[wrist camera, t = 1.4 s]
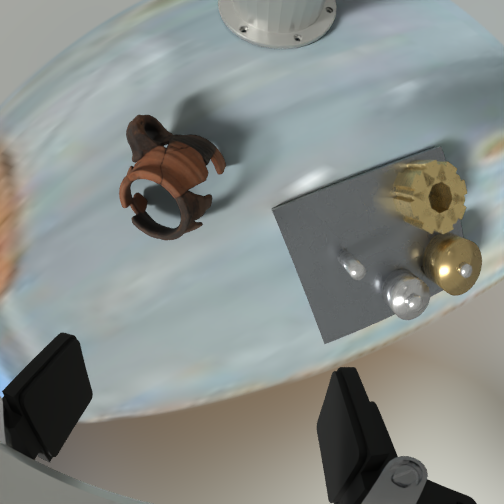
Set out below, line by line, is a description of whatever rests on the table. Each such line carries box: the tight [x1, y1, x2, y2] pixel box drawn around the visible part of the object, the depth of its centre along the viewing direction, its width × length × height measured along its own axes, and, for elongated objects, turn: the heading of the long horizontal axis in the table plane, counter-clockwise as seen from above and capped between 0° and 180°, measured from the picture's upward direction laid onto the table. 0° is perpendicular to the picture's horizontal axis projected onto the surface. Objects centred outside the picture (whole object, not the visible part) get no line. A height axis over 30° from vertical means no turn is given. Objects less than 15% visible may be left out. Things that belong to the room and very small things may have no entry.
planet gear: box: [393, 160, 467, 234], centre depth 26 cm, size 7×7×4 cm
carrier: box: [272, 146, 482, 344], centre depth 28 cm, size 20×16×6 cm
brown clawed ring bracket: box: [119, 115, 226, 240], centre depth 27 cm, size 12×10×8 cm
